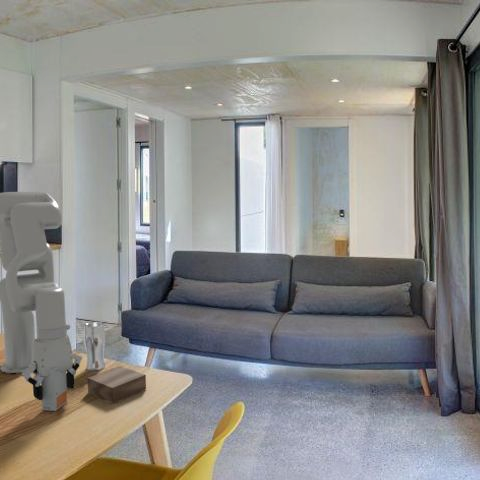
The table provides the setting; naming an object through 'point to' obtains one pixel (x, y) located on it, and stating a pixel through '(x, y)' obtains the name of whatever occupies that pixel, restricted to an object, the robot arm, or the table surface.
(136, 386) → the walnut block
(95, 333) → the beer glass
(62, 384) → the skincare box
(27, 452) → the table surface
